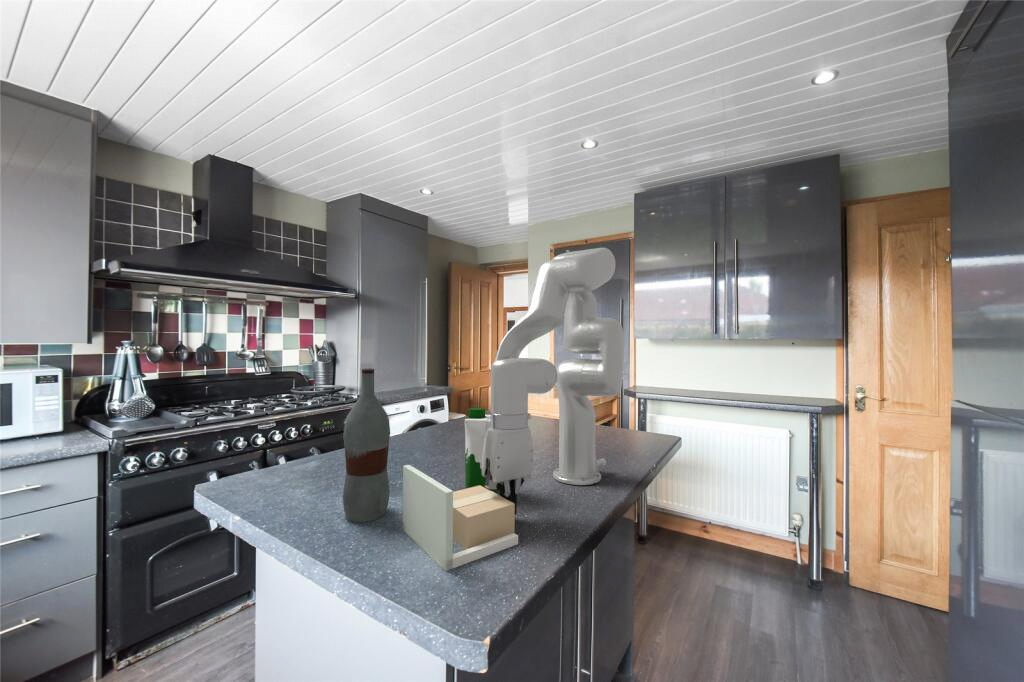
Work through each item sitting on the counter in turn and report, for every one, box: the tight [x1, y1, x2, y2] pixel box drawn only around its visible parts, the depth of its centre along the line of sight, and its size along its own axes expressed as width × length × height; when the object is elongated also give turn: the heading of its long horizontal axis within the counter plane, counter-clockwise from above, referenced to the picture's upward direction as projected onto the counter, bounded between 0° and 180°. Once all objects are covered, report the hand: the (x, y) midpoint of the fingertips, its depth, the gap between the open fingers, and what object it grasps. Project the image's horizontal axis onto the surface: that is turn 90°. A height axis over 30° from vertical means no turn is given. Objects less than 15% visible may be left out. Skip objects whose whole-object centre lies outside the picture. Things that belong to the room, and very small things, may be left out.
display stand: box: [402, 464, 519, 572], centre depth 72 cm, size 14×17×12 cm
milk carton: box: [463, 406, 500, 495], centre depth 93 cm, size 9×9×20 cm
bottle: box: [342, 367, 391, 523], centre depth 82 cm, size 9×9×30 cm
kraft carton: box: [453, 486, 516, 550], centre depth 75 cm, size 10×12×6 cm
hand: (508, 513), depth 79 cm, fingers closed
